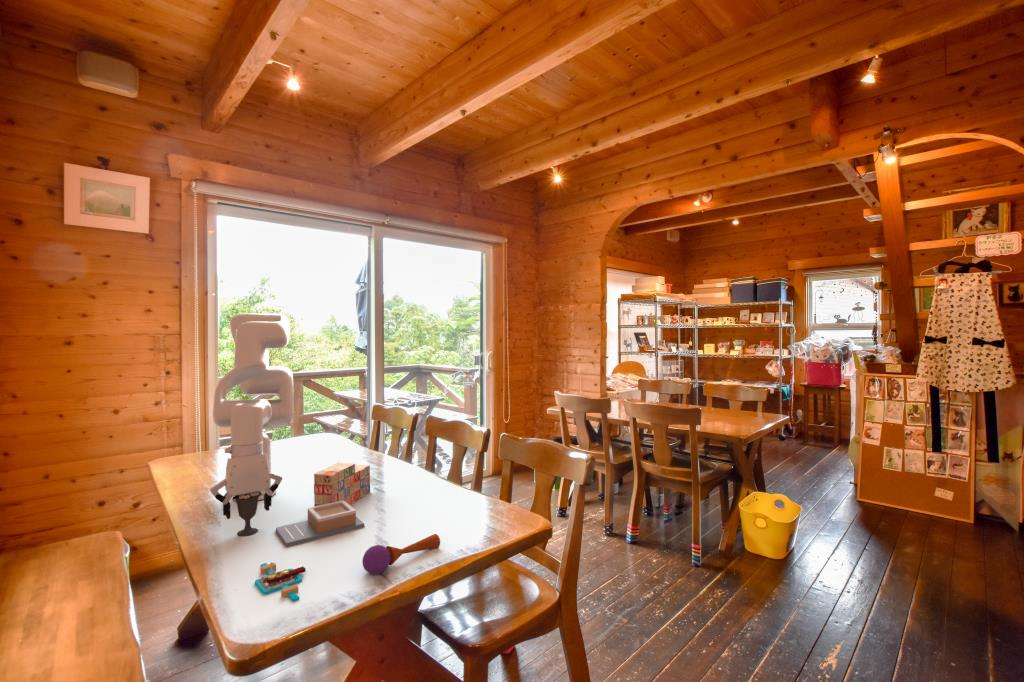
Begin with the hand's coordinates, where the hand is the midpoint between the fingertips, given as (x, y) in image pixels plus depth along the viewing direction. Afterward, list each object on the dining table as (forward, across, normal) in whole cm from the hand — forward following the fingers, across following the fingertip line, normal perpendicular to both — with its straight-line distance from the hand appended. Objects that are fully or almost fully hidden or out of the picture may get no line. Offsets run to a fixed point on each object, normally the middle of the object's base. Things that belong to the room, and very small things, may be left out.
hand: (247, 513), depth 128 cm
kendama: (+6, +26, -40) cm, 48 cm away
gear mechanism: (+6, +1, -33) cm, 34 cm away
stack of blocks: (+6, +28, +7) cm, 29 cm away
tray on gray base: (+5, +16, -10) cm, 20 cm away
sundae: (+5, 0, 0) cm, 5 cm away
